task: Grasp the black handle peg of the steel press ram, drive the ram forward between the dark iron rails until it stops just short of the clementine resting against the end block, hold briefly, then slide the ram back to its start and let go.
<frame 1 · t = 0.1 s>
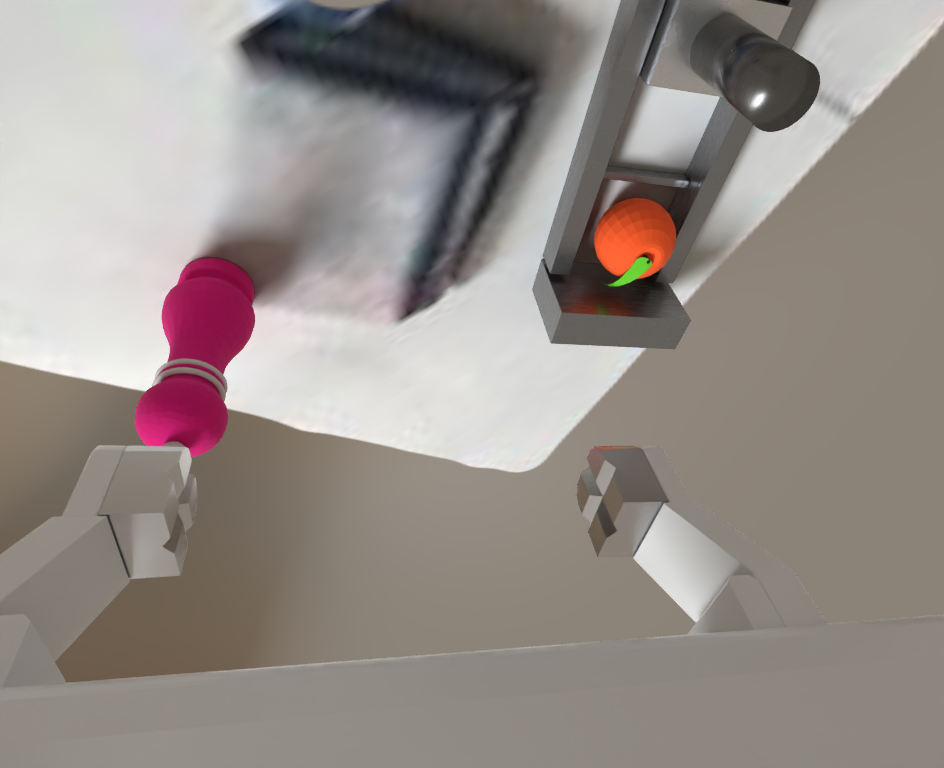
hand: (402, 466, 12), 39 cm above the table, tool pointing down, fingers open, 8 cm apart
clementine: (617, 222, 55), resting in press
ram: (734, 59, 39), point 7 cm above the table, slide at 0.0 cm
pepper mill: (218, 284, 54), on the table
press: (647, 149, 50), on the table
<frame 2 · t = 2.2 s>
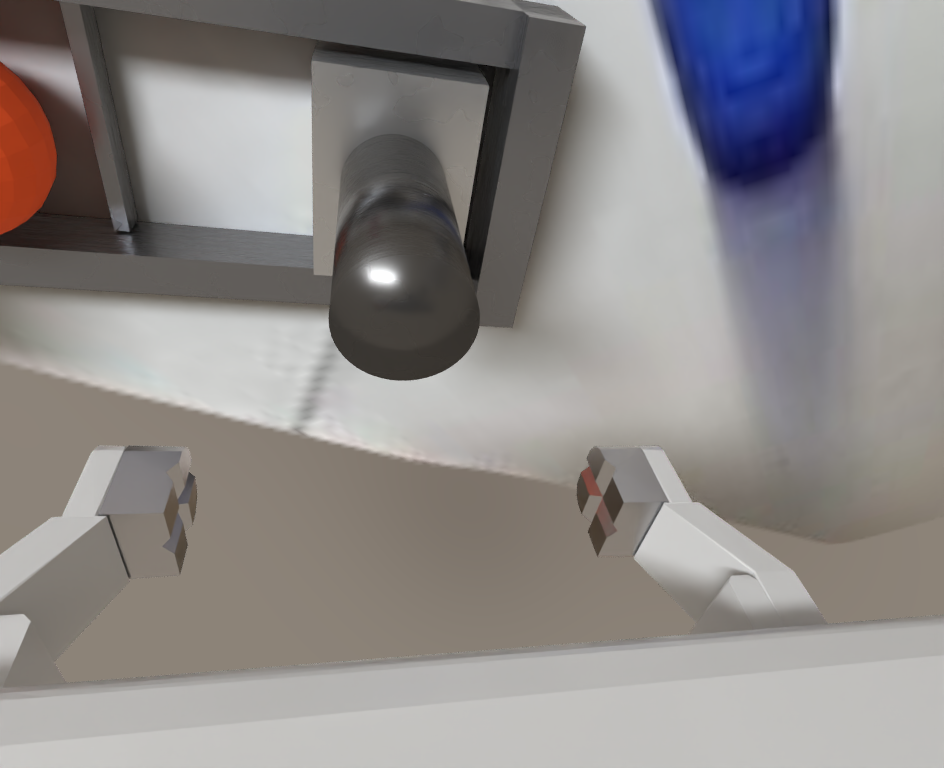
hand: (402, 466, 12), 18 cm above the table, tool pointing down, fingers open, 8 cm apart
ram: (396, 216, 21), point 7 cm above the table, slide at 0.0 cm
press: (165, 123, 24), on the table
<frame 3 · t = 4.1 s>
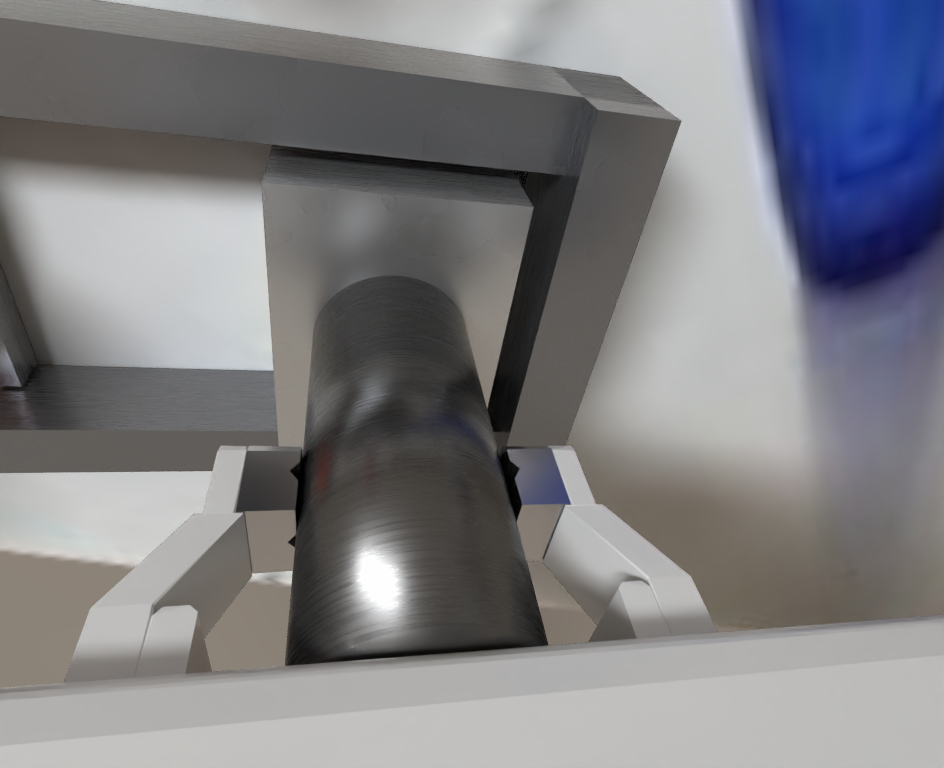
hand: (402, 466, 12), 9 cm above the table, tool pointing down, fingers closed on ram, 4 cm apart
ram: (396, 406, 14), point 7 cm above the table, slide at 0.0 cm, touching gripper
press: (64, 244, 17), on the table
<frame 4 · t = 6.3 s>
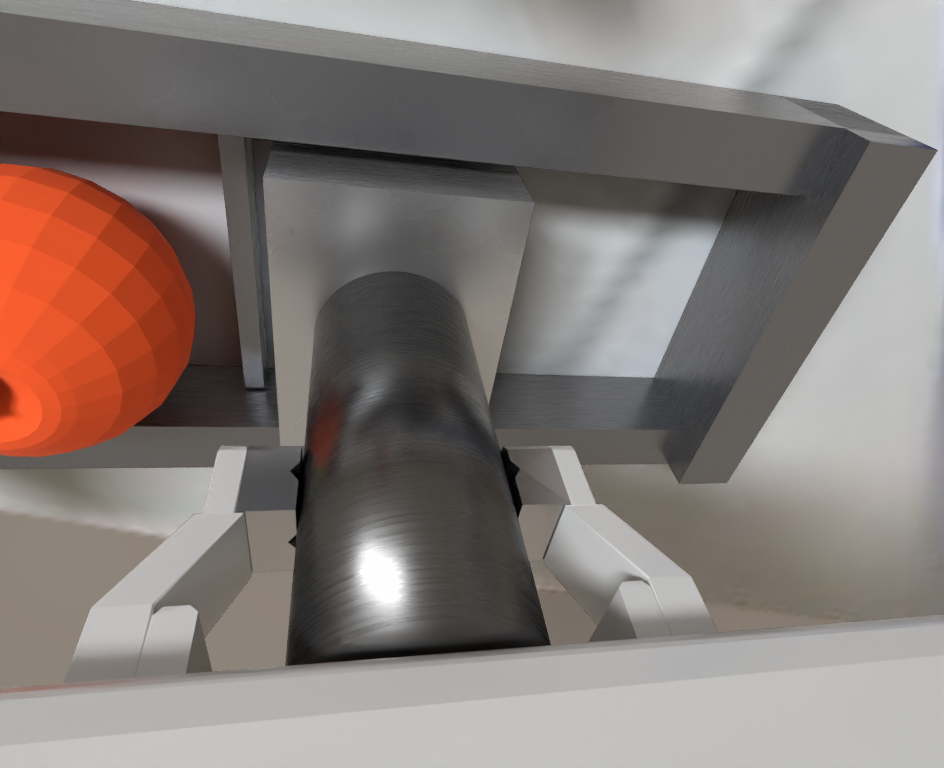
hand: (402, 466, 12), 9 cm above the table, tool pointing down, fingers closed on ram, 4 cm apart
clementine: (69, 236, 17), resting in press
ram: (398, 401, 14), point 7 cm above the table, slide at 7.0 cm, touching gripper
press: (320, 257, 18), on the table
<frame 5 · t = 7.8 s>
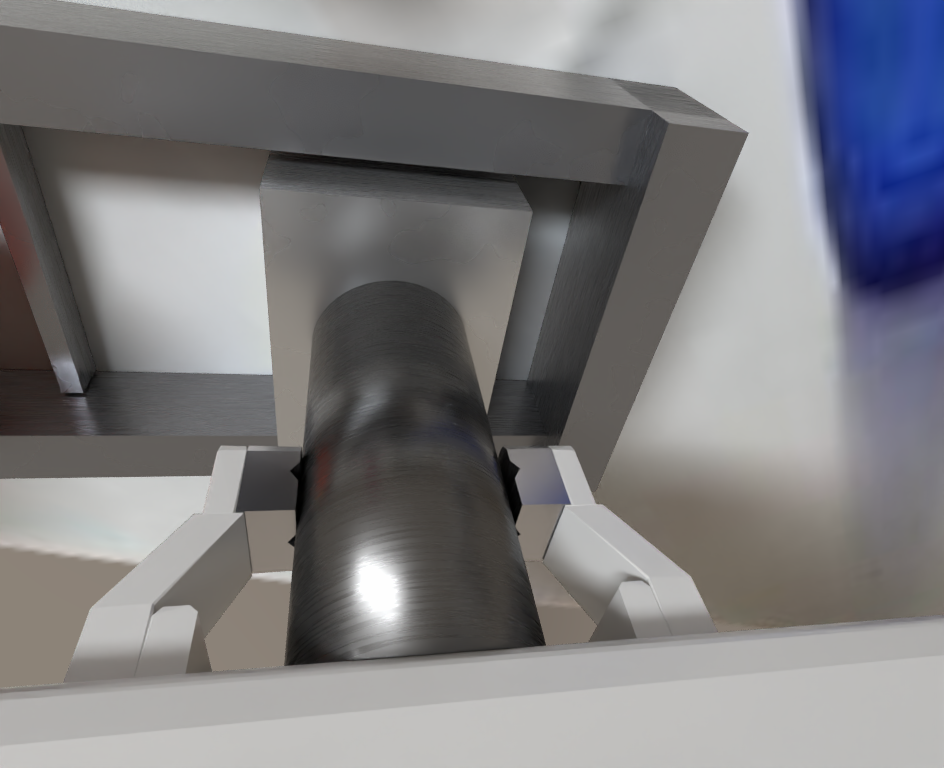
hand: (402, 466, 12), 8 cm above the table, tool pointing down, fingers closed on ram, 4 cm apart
ram: (396, 411, 14), point 7 cm above the table, slide at 1.7 cm, touching gripper
press: (129, 253, 17), on the table
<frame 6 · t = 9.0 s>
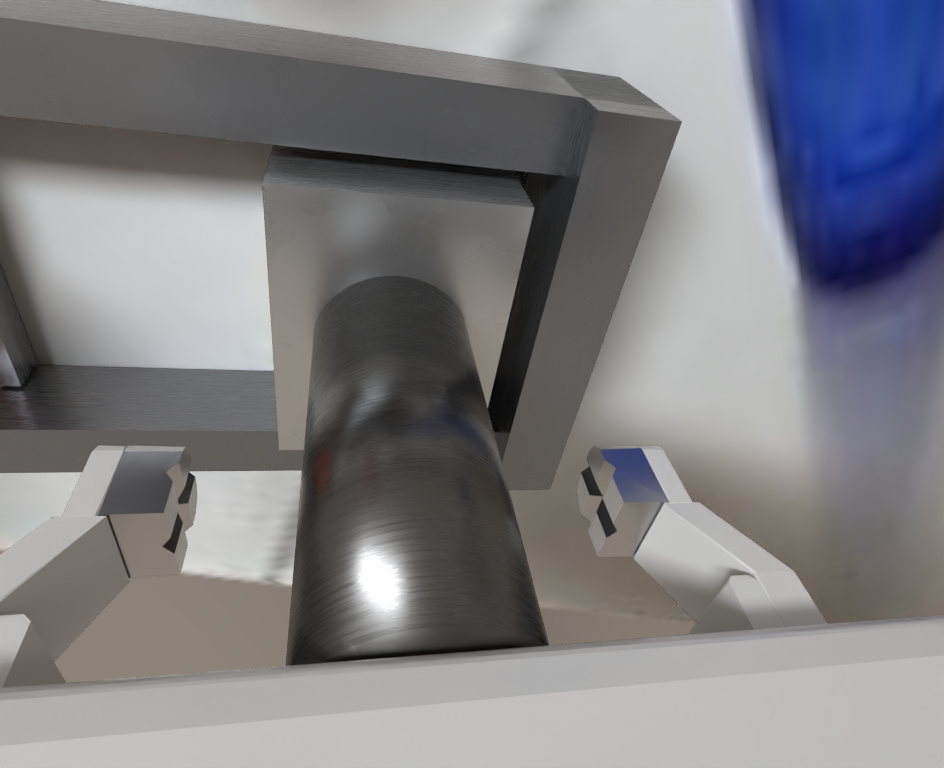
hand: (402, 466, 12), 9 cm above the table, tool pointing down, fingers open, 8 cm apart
ram: (397, 406, 14), point 7 cm above the table, slide at 0.0 cm
press: (64, 244, 17), on the table
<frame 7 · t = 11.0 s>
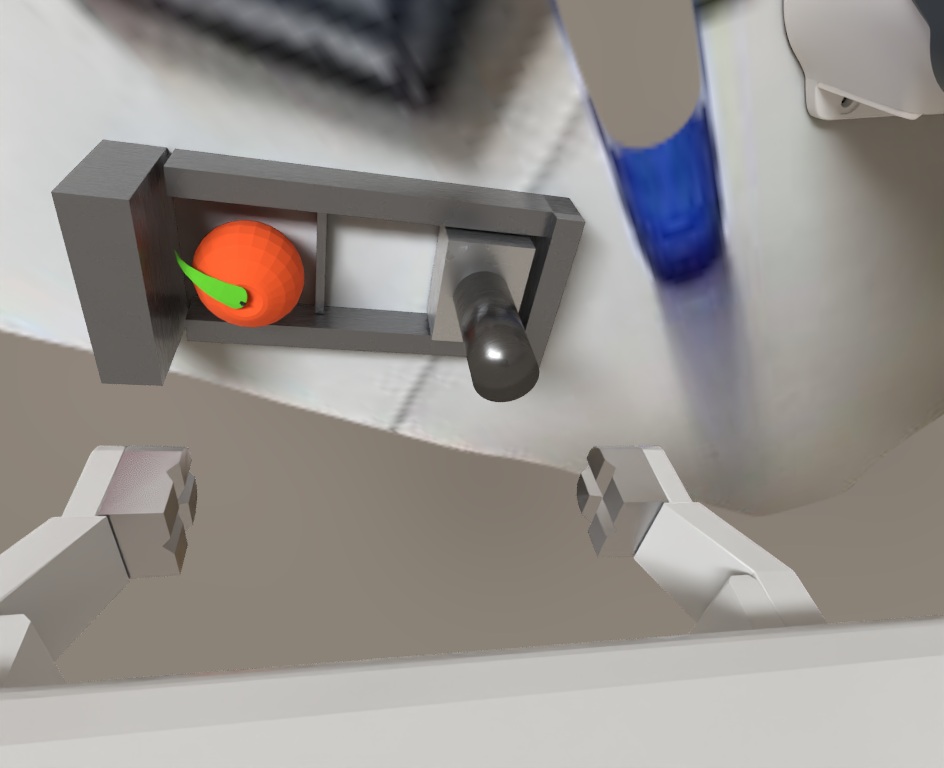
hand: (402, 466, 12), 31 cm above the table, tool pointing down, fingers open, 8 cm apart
clementine: (249, 245, 41), resting in press
ram: (487, 316, 40), point 7 cm above the table, slide at 0.0 cm
press: (351, 256, 43), on the table
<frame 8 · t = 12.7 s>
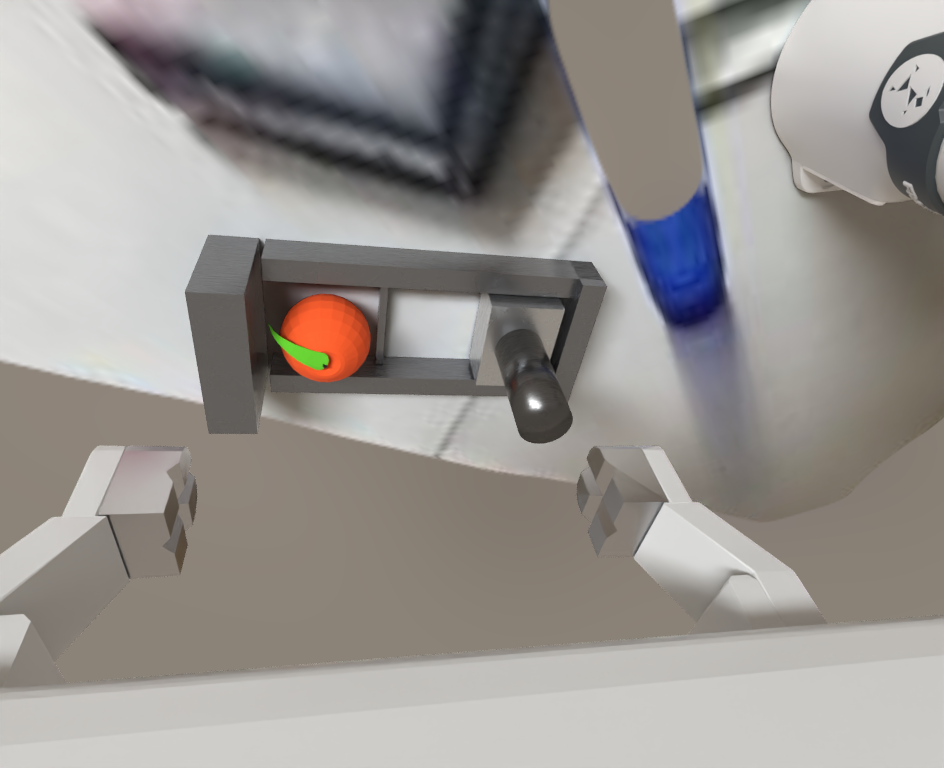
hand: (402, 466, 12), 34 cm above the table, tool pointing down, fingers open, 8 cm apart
clementine: (321, 310, 49), resting in press
ram: (525, 367, 47), point 7 cm above the table, slide at 0.0 cm
press: (406, 315, 50), on the table
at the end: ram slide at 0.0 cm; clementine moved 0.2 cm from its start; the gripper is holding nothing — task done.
